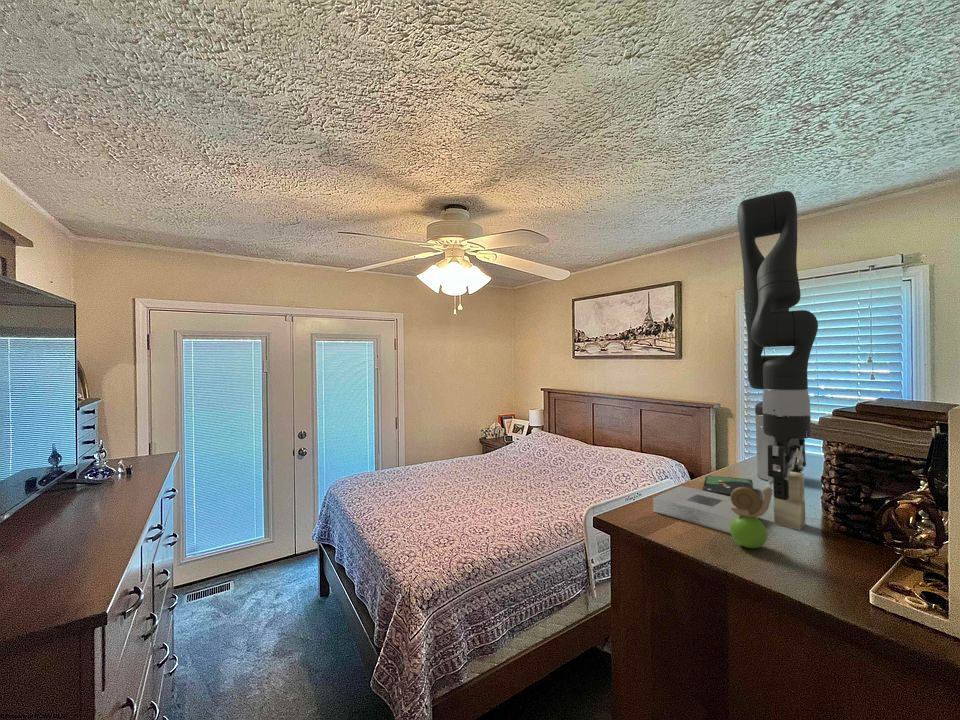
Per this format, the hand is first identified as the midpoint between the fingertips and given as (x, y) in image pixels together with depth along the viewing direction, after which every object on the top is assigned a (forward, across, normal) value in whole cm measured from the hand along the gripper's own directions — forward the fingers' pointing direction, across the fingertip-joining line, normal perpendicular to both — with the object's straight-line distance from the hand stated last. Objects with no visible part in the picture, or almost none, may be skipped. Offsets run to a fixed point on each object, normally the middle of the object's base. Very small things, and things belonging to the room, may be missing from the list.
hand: (788, 494), depth 79 cm
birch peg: (+6, 0, 0) cm, 6 cm away
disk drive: (+6, -11, -15) cm, 20 cm away
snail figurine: (+6, +16, -1) cm, 17 cm away
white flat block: (+6, +7, -13) cm, 16 cm away
